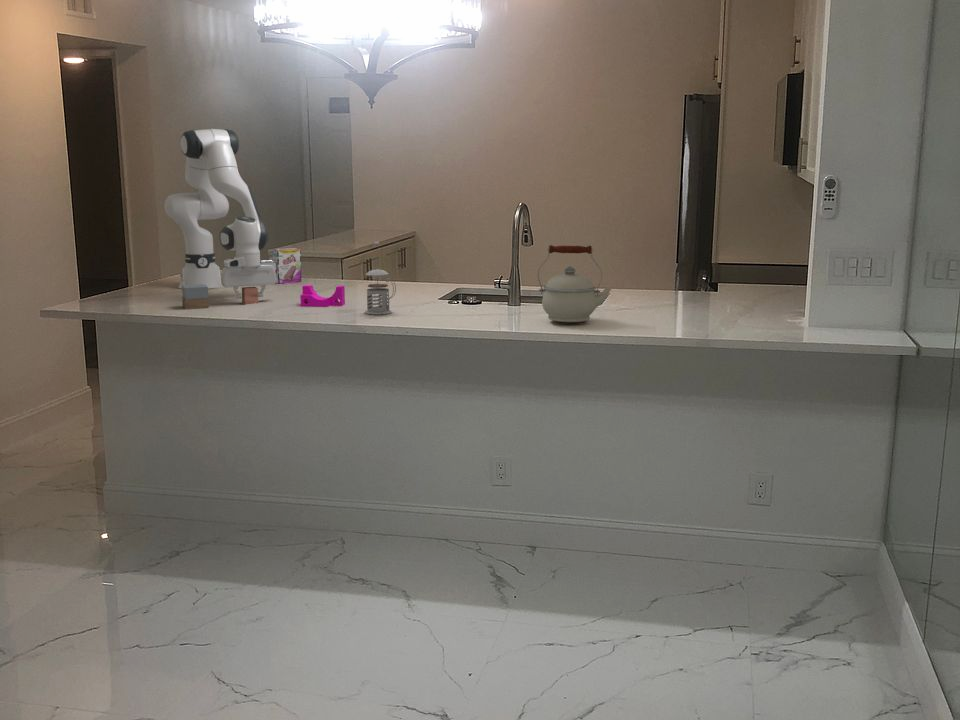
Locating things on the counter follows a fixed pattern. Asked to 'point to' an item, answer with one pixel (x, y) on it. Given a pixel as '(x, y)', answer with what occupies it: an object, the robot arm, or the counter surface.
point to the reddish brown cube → (249, 295)
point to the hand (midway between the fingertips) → (250, 297)
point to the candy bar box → (287, 265)
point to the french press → (381, 291)
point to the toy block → (315, 300)
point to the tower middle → (195, 291)
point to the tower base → (195, 303)
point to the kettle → (571, 291)
